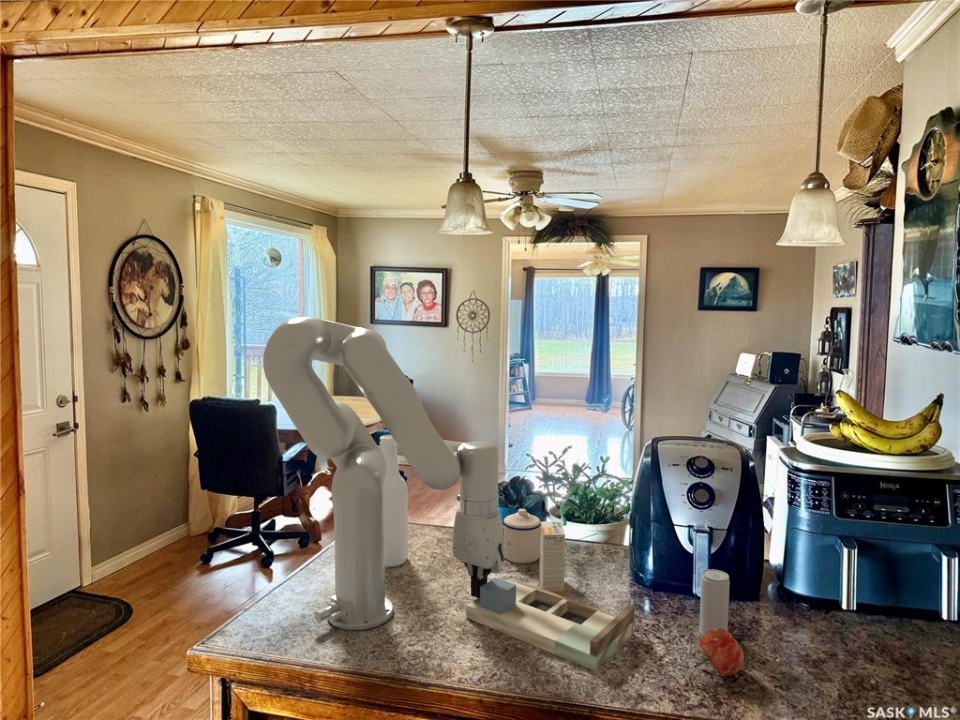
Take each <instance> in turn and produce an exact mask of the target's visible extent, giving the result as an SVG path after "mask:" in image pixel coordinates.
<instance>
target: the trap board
mask: <svg viewBox="0 0 960 720" xmlns="http://www.w3.org/2000/svg"><path fill="white" fill-rule="evenodd" d="M505 581H506V582H509V583H512V584H515V585H516V605H515V606H513V607H512V608H510V609H509V610H507V611H506V612H504V613H503V614H502V615H500V614H498V613H495V612H492V611H490V610H487V609H485V608H482V607H480V597H479V598H475V599H474V600H472V601H471V602H469V603H467V604H466V605H465V607H466V608H465V613H466V614H465V618H466V617H467V618H466V619H469V618H470V619H469V620H471V619H472V620H471V621H473V620H475V621H474V622H475V623H478V622H479V624H481V625H483V624H484V626H485V625H486V627H488V626H489V627H488V628H490V629H493V630H495V631H497V630H498V632H500V633H503V634H505V635H507V636H509V637H512V638H515V639H517V640H520V641H522V642H524V643H527V644H529V645H532V646H534V647H536V648H538V649H542V650H544V651H546V652H549V653H551V654H554V655H555V656H557V657H561V658H563V659H565V660H567V661H570V662H572V663H575V664H578V665H580V666H582V667H584V668H587V669H589V670H592V671H593V672H597V671H598V670H599V669H600V668H601V667H602V666H603V665H604V664H605V663H606V662H607V661H608V660H609V659H610V658H611V657H612V656H613V655H614V654H615V653H616V652H617V651H618V650H619V649H620V647H622V646H623V645H624V644H625V643H626V642H627V641H628V640H629V639H630V637H632V635H634V631H635V630H634V628H635V607H634V606H631V605H627V606H626V607H625V608H624V609H622V611H621V612H620V613H619V614H616V613H613V612H610V611H607V610H604V609H602V608H598V607H595V606H592V605H590V604H586V603H584V602H582V601H578V600H575V599H572V598H569V597H567V596H564V595H562V594H555V593H552V592H549V591H546V590H543V589H542V588H540V587H537V586H535V585H532V584H528V583H525V582H523V581H519V580H517V579H514V578H511V577H510V578H509V579H506V580H505Z"/></svg>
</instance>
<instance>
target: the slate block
mask: <svg viewBox="0 0 960 720" xmlns="http://www.w3.org/2000/svg"><path fill="white" fill-rule="evenodd" d="M506 581H507V580H503V579H500V578H497V577H494V578H492V579H491V580H489V581H487V583H486V584H484V585H483V586H481V587H480V607H482V608H485V609H487V610H490V611H492V612H495V613H498V614H500V615H502V614H503V613H504V612H506V611H507V610H509V609H510V608H512V607H513V606H515V605H516V585H515V584H512V583H509V582H506Z"/></svg>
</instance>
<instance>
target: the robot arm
mask: <svg viewBox="0 0 960 720" xmlns="http://www.w3.org/2000/svg"><path fill="white" fill-rule="evenodd" d="M313 360H315V361H319V362H324V363H327V364H332V365H337V366H342V367H343V368H344V369H345V371H346V372H347V373H348V375H349V377H350V378H351V379H352V381H353V382H354V383H355V384H356V386H357V387H358V389H359V390H360V392H361V393H362V394H363V395H364V397H365V398H366V400H367V401H368V403H370V405H371V407H372V408H373V409H374V411H375V412H376V414H377V415H378V416H379V418H380V420H381V422H382V423H383V425H384V427H385V428H386V430H387V431H388V433H389V435H391V436H392V438H393V439H394V441H395V443H396V446H397V447H398V449H399V451H400V452H401V454H402V455H403V457H404V458H405V460H406V461H407V462H408V464H409V466H410V467H411V468H412V470H414V472H415V474H416V475H417V476H418V477H419V479H420V480H421V481H422V483H423V484H425V485H426V486H427V487H429V488H430V489H432V490H434V491H445V490H448V489H451V488H452V487H454V485H456V483H457V482H458V481H459V494H457V496H456V501H457V502H459V508H457V509H456V513H455V516H454V522H453V530H452V541H451V542H452V544H451V546H452V548H451V549H452V551H451V552H452V555H453V557H454V558H455V559H456V560H457V561H459V562H460V563H462V564H464V566H465V568H466V570H467V574H468V576H469V577H470V596H471V597H475V599H477V598H479V597H480V587H481V586H483V585H484V584H486V583H488V576H489V575H490V574H500V573H502V571H503V569H504V568H503V563H502V562H504V560H505V559H504V558H505V557H504V529H503V526H504V524H503V519H502V514H501V513H500V512H499V450H498V447H497V445H496V444H494V443H492V442H490V441H486V440H485V441H483V440H476V441H474V440H473V441H469V442H462V441H454V440H453V441H452V440H449V439H447V440H446V439H443V438H442V437H441V436H440V434H439V433H438V431H437V429H436V428H435V426H434V425H433V424H432V422H431V420H430V418H429V416H428V414H427V412H426V410H425V408H424V405H423V402H422V399H421V397H420V395H419V393H418V392H417V390H416V388H415V386H414V385H413V384H412V383H411V381H410V380H409V379H408V377H407V376H406V374H405V373H404V371H403V370H402V369H401V367H400V366H399V365H398V363H397V362H396V360H395V358H394V357H393V356H392V355H391V353H390V352H389V350H388V349H387V343H386V341H385V340H384V338H383V336H382V335H381V334H379V333H378V332H377V331H375V330H373V329H370V328H365V327H364V328H363V327H360V326H359V327H358V326H353V325H349V324H346V323H345V324H344V323H341V322H336V321H331V320H328V319H323V318H319V317H312V316H304V317H293V318H290V319H287V320H286V321H283V322H282V323H281V324H279V326H277V327H276V329H275V330H274V331H272V333H271V335H270V337H269V338H268V341H267V342H266V345H265V348H264V351H263V356H262V364H263V372H264V376H265V378H266V379H265V380H266V381H267V383H268V385H269V387H270V389H271V391H272V393H274V395H275V397H276V398H277V399H278V401H279V402H280V404H281V406H282V407H283V409H284V410H285V412H286V414H287V416H288V418H289V419H290V421H291V422H292V424H293V426H294V428H296V430H297V431H298V433H299V434H300V436H301V437H302V439H303V440H304V443H305V444H306V446H307V448H309V451H311V452H312V453H313V454H314V455H315V456H317V457H319V458H321V459H325V460H331V461H332V463H333V465H335V467H336V469H335V472H334V474H333V477H332V481H331V483H332V484H331V499H332V500H331V502H332V503H331V504H332V510H333V511H332V512H333V524H334V525H333V535H334V536H333V538H334V581H335V582H334V583H335V585H334V587H335V591H334V592H335V595H333V596H332V595H331V597H330V603H328V605H327V606H326V607H324V608H321V609H319V610H317V611H315V612H314V619H315V620H316V622H317V623H321V622H322V621H324V620H326V619H327V620H328V622H329V623H330V624H331V625H333V626H334V627H337V628H338V629H342V630H347V631H363V630H368V629H372V628H375V627H378V626H380V625H382V624H384V623H386V622H387V621H388V620H389V619H390V618H391V617H392V616H393V613H394V605H393V603H392V601H391V600H390V599H389V598H387V597H386V587H385V586H386V584H385V583H386V579H385V578H386V577H385V575H386V573H385V572H386V570H385V568H386V567H385V553H384V502H383V493H384V482H385V477H386V471H387V466H386V461H385V458H384V456H383V454H382V452H381V451H380V447H379V446H378V444H377V442H376V441H375V440H374V438H373V436H372V435H371V433H370V432H369V430H368V429H367V427H366V426H365V424H364V422H363V421H362V420H361V418H360V417H359V415H358V414H357V413H356V411H355V410H354V409H353V407H350V406H349V405H348V404H346V403H344V402H343V403H342V402H339V401H335V400H334V398H333V397H332V396H331V394H330V392H329V390H328V389H327V387H326V386H325V384H324V382H323V381H322V380H321V379H320V378H319V376H318V375H317V373H316V372H315V371H314V368H313V364H312V363H313Z"/></svg>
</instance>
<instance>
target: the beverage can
mask: <svg viewBox="0 0 960 720" xmlns="http://www.w3.org/2000/svg"><path fill="white" fill-rule="evenodd" d="M701 573H702V575H701V580H700V581H701V582H700V603H699V606H700V607H699V608H700V609H699V634H700V636H701V637H702V636H703V635H704V634H705V633H706V632H707V631H709V630H711V629H715V628H720V629H724V630H726V631H728V627H729V626H728V624H729V607H730V605H729V603H730V584H731V583H730V581H731V580H730V575H729V574H728V573H727V572H724V571H723V570H718V569H715V568H714V569H713V568H712V569H711V568H710V569H709V568H708V569H705V570H703V571H702V572H701Z"/></svg>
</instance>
